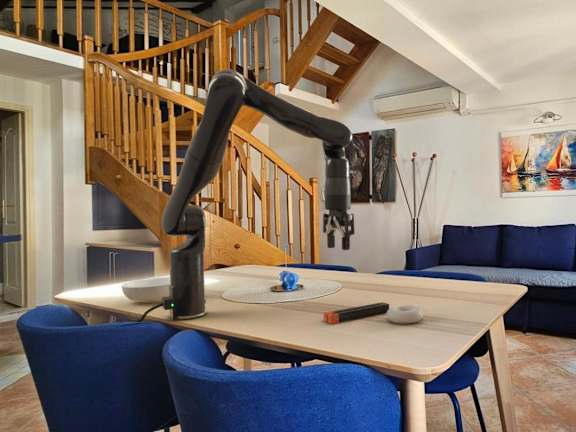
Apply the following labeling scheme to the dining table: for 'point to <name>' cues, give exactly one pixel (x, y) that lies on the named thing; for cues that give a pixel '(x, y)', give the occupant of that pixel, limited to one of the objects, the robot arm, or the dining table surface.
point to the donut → (404, 314)
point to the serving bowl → (147, 289)
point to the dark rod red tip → (355, 312)
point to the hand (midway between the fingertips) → (338, 248)
